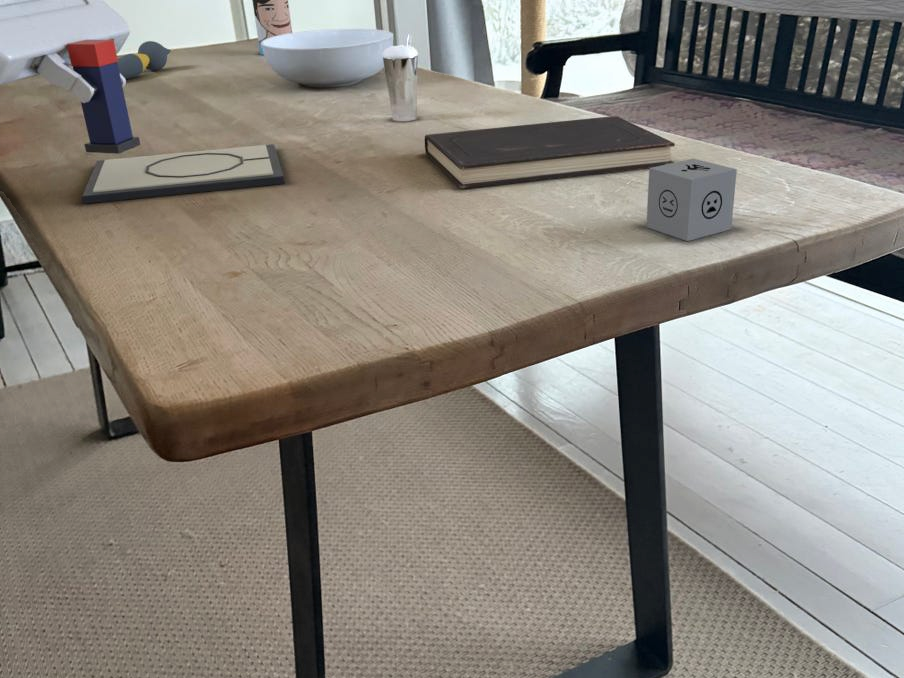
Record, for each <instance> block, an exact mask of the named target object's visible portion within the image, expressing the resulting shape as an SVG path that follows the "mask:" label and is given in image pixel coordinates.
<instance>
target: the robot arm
mask: <svg viewBox="0 0 904 678" xmlns="http://www.w3.org/2000/svg"><path fill="white" fill-rule="evenodd" d="M130 32H131V30H130V27H129V25H128V22H127V21H126V20H125V19H124V18H123V17H122V16H121V15H120V14H119V13H118V12H117V11H116V10H115V9H113V7H111V6H110V5H109V4H108V3H106V2H105V1H104V0H0V86H3V85H5V84H9V83H13V82H17V81H20V80H24V79H28V78H33V77H36V76H40V75H41V76H42V77H43V78H44V79H45V80H46V81H47V82H49V83H50V84H53V85H54V86H57V87H59V88H61V89H63V90H65V91H66V92H70V93H71V94H72V95H73V96H74V97H75V98H76V99H77V100H78V101H79V102H80V103H81V102H82V103H86V102H89V101H92V100H95V98H96V97H97V95H98V93H99V90H100V89H99V87H98V85H97V84H96V83H94V82H93V80H91V79H90V78H89V77H88V76H87V75H85V76H81V75H79V74H78V73H76V72H75V71H74V70H73V68H71V67H73V66H72V65H71V61H70V57H69V52H68V48H67V44H69V43H74V42H78V41H82V40H114V44H115V49H116V54H119V53H120V51H121V49H122V48H123V47H124V44H125V43H126V41H127V40H128V38H129V35H130ZM120 77H121V82H122V87H123V88H125V86H126V84H127V80H125V78H124V77H123V76H122V75H121V74H120Z"/></svg>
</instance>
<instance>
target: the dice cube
mask: <svg viewBox="0 0 904 678" xmlns="http://www.w3.org/2000/svg"><path fill="white" fill-rule="evenodd" d="M737 172H738V169H737V168H733V167H729V166H726V165H721V164H718V163H713V162H710V161H706V160H702V159H698V158H689V159H684V160H679V161H675V162H674V163H671V164H666V165H661V166H657V167H652V168H648V183H647V185H648V187H647V207H646V224H645V225H646V228H648V229H651V230H653V231H656V232H659V233H662V234H665V235H668V236H670V237H673V238H677V239H680V240H682V241H686V242H690V241H693V240H697V239H701V238H704V237H707V236H711V235H716V234H719V233H722V232H727V231H730V230H732V226H733V214H734V203H735V193H736V183H737V182H736V181H737Z"/></svg>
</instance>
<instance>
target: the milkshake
mask: <svg viewBox="0 0 904 678" xmlns="http://www.w3.org/2000/svg"><path fill="white" fill-rule="evenodd" d="M411 43H412V34H409V33H408V36H407V43H406V45H403V44H398V45H393V46H390V47H388V48H386V49H385V50H384V51H383V53H382V57H383V63H384V68H383V69H384V73H385V79H386V84H387V85H386V86H387V91H388V99H389V104H390V112H391V119H392V120H393V121H395V122H410V121H415V120H418V58H419V52H418V50H417V49H416V48H415V47H414V46H413V45H411Z"/></svg>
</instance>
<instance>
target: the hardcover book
mask: <svg viewBox="0 0 904 678" xmlns="http://www.w3.org/2000/svg"><path fill="white" fill-rule="evenodd" d="M675 145H676V144H675V142H673V141H671V140H669V139H667V138H665V137H662V136H660V135H659V134H656V133H654V132H651V131H650V130H648V129H645V128H644V127H641V126H639V125H637V124H635V123H632V122H631V121H629V120H626V119H624V118H622V117H619V116H618V115H610V116H601V117H592V118H591V117H589V118H581V119H571V120H570V119H569V120H561V121H551V122H550V121H549V122H540V123H539V122H538V123H531V124H529V123H528V124H519V125H511V126H499V127H490V128H482V129H481V128H480V129H479V128H478V129H470V130H459V131H451V132H439V133H430V134H425V135H424V151H425V155H426V156H427V157H428V158H429V159H430V160H431V161H432V162H433V163H434V164H435V165H436V166H437V167H438V168H439V169H440V171H442V172H443V173H444V174H445V175H446V176H447V177H448V178H449V179H451V181H453V182H454V183H455V185H457V186H458V187H459V188H460V189H461V190H467V189H474V188H482V187H483V188H484V187H492V186H501V185H502V186H503V185H509V184H511V185H512V184H519V183H528V182H536V181H545V180H555V179H562V178H563V179H564V178H572V177H580V176H581V177H582V176H590V175H599V174H608V173H617V172H624V171H625V172H626V171H633V170H642V169H643V170H644V169H649V168H652V167H657V166H661V165H666V164H671V163H675V162H674V161H672V160H671V155H672V152H671V147H675Z"/></svg>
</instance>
